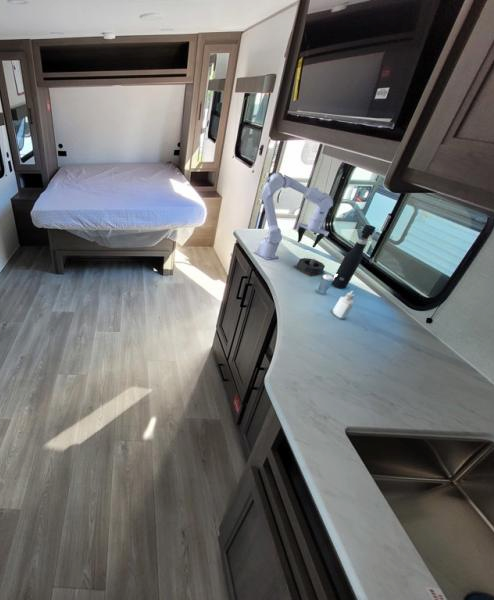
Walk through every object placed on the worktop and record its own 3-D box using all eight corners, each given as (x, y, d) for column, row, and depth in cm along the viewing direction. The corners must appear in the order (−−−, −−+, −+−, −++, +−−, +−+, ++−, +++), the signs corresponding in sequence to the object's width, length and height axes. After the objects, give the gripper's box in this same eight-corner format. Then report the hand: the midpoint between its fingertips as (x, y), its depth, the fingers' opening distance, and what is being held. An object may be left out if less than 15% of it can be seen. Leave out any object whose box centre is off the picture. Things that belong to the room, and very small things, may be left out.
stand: (294, 267, 163) (298, 256, 160) (307, 264, 166) (312, 254, 163) (310, 276, 156) (315, 265, 152) (323, 273, 159) (329, 262, 155)
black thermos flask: (341, 282, 152) (373, 224, 135) (348, 289, 147) (382, 230, 129) (328, 281, 152) (358, 223, 135) (334, 288, 147) (367, 228, 130)
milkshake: (330, 295, 141) (340, 276, 136) (318, 294, 141) (328, 276, 136) (324, 290, 145) (334, 271, 139) (313, 289, 145) (322, 271, 139)
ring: (292, 264, 163) (294, 259, 161) (307, 261, 167) (309, 256, 165) (311, 275, 154) (313, 270, 152) (327, 271, 158) (329, 266, 156)
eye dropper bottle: (333, 317, 128) (347, 293, 121) (331, 309, 132) (345, 286, 125) (345, 320, 126) (360, 296, 119) (343, 312, 130) (357, 289, 124)
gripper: (299, 216, 157) (289, 241, 165) (329, 225, 148) (317, 251, 156) (305, 214, 161) (295, 238, 169) (334, 222, 152) (322, 247, 160)
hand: (306, 244), depth 163 cm, fingers open, 7 cm apart
